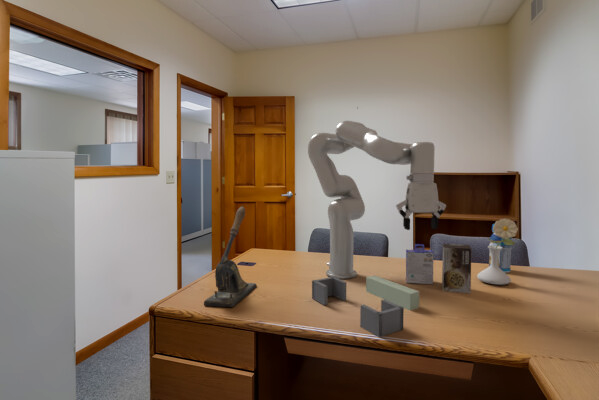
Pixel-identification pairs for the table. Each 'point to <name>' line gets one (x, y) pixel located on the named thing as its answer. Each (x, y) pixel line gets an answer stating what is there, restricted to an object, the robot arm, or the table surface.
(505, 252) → the beverage bottle
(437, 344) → the table surface
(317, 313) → the table surface
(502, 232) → the flower in vase
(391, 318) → the cap fixed
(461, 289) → the coffee box
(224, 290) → the embossing press
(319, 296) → the cap sliding
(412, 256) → the ink cartridge box
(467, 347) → the table surface
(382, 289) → the pale green long block
